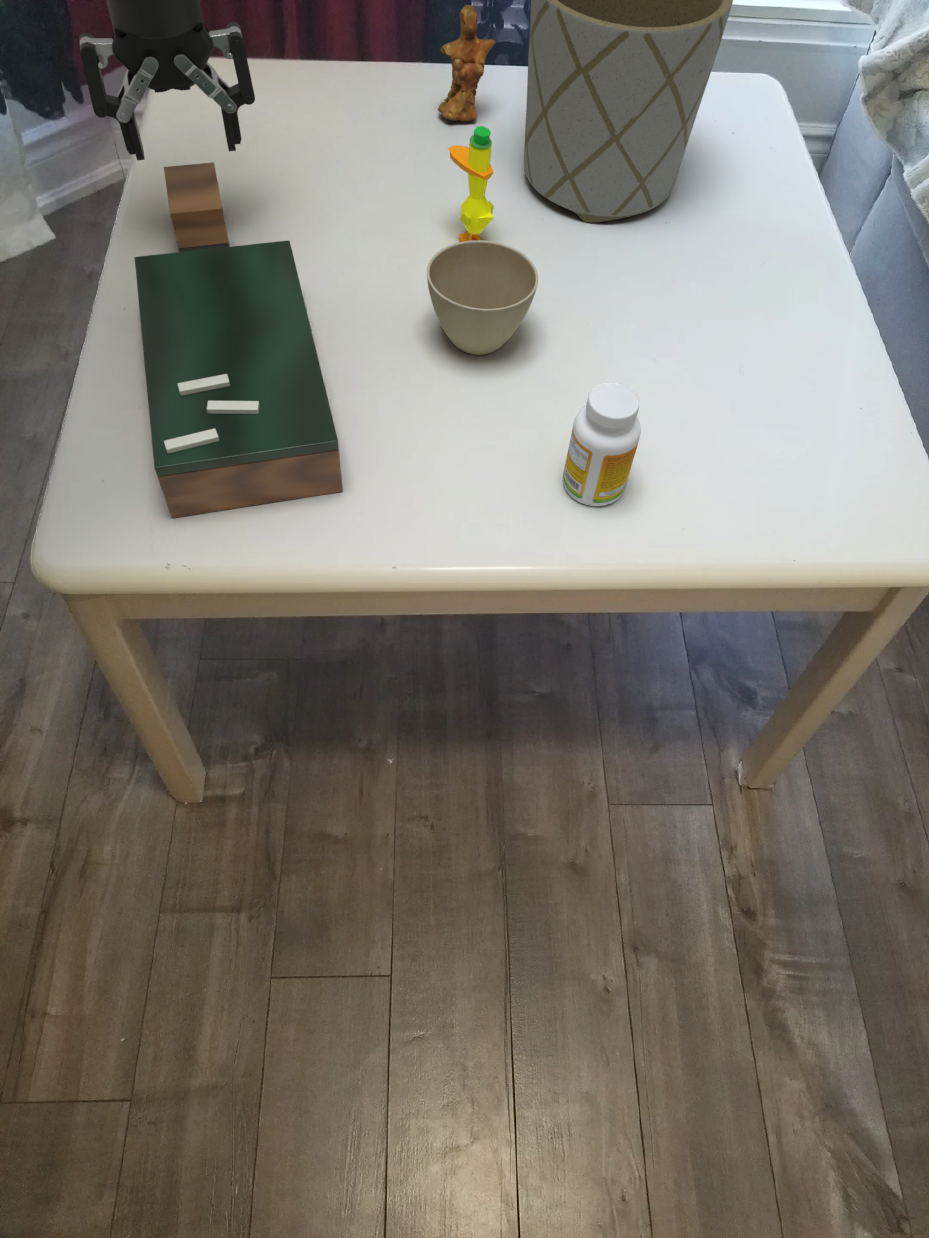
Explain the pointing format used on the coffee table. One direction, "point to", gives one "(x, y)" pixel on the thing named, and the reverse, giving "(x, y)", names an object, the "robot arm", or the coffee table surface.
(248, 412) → the chalk stroke
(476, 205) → the toy figure
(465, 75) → the figurine
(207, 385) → the chalk stroke
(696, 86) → the planter
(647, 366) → the coffee table surface
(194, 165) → the eraser
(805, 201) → the coffee table surface
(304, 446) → the chalkboard
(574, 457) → the supplement bottle
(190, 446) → the chalk stroke
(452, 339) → the flower pot
